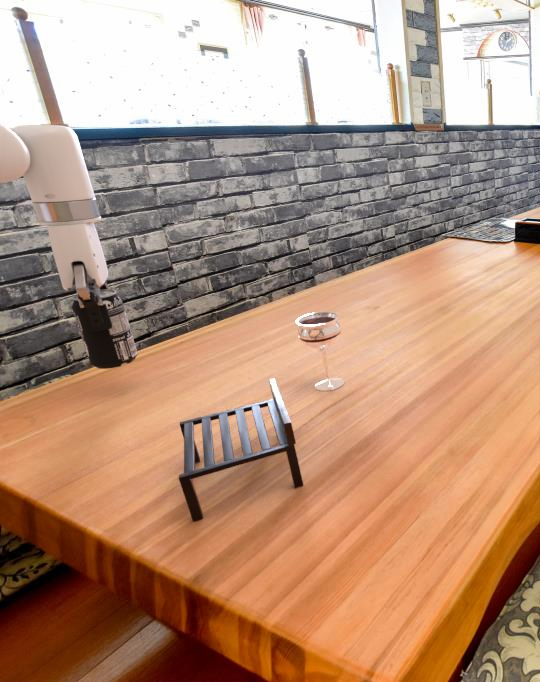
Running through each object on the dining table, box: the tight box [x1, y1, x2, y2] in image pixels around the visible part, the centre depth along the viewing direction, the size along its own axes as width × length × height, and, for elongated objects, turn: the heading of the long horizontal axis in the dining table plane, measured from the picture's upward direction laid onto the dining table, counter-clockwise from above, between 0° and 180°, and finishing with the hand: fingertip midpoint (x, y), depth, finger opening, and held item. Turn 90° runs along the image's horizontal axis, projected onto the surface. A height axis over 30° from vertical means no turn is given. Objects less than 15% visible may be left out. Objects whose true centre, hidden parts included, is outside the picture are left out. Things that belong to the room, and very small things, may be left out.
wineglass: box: [295, 311, 345, 392], centre depth 89 cm, size 7×7×12 cm
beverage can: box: [71, 288, 138, 370], centre depth 87 cm, size 7×7×12 cm
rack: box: [178, 378, 304, 522], centre depth 67 cm, size 12×14×9 cm
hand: (103, 322), depth 87 cm, fingers closed on beverage can, 6 cm apart
